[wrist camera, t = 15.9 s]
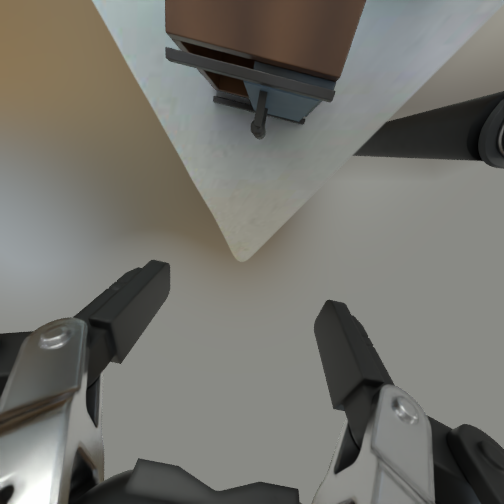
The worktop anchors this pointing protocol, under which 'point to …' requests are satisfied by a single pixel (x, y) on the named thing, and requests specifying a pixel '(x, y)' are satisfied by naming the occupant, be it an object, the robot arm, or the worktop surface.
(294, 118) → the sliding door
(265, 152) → the worktop surface
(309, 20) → the cupboard
